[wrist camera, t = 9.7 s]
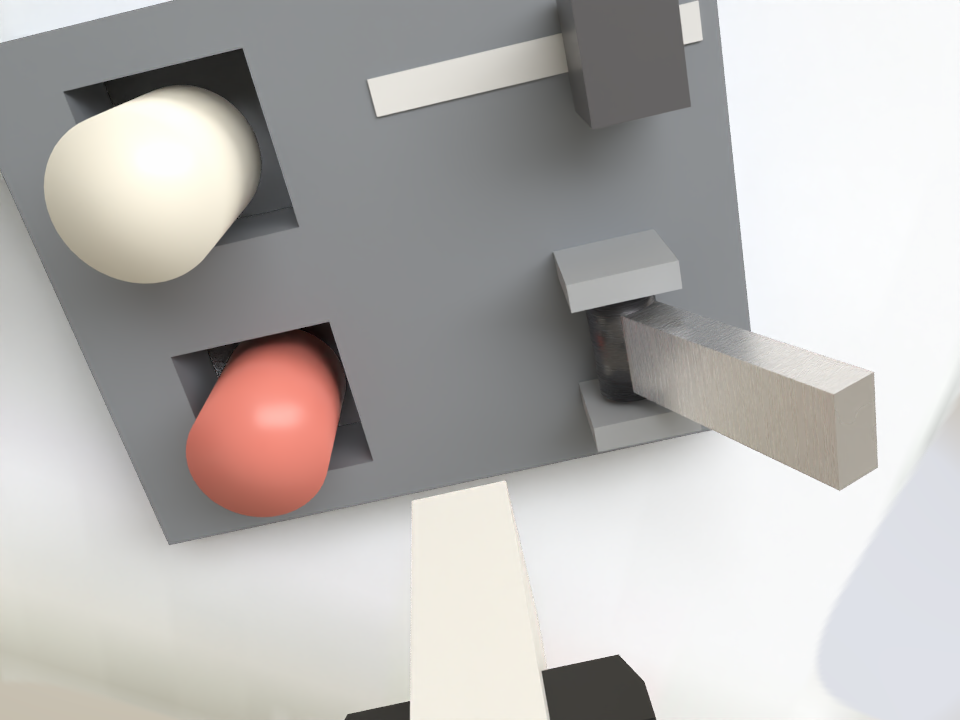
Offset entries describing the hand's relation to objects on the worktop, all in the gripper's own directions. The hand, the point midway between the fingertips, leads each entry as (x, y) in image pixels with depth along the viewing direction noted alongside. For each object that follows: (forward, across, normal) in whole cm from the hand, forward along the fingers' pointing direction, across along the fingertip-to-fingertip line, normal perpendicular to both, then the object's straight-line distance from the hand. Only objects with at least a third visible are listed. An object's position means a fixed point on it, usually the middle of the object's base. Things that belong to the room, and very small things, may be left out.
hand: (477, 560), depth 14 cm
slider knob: (+13, +6, +6) cm, 15 cm away
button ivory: (+14, -6, +5) cm, 16 cm away
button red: (+16, -6, -3) cm, 17 cm away
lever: (+12, +5, -2) cm, 13 cm away
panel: (+16, -1, +1) cm, 16 cm away
